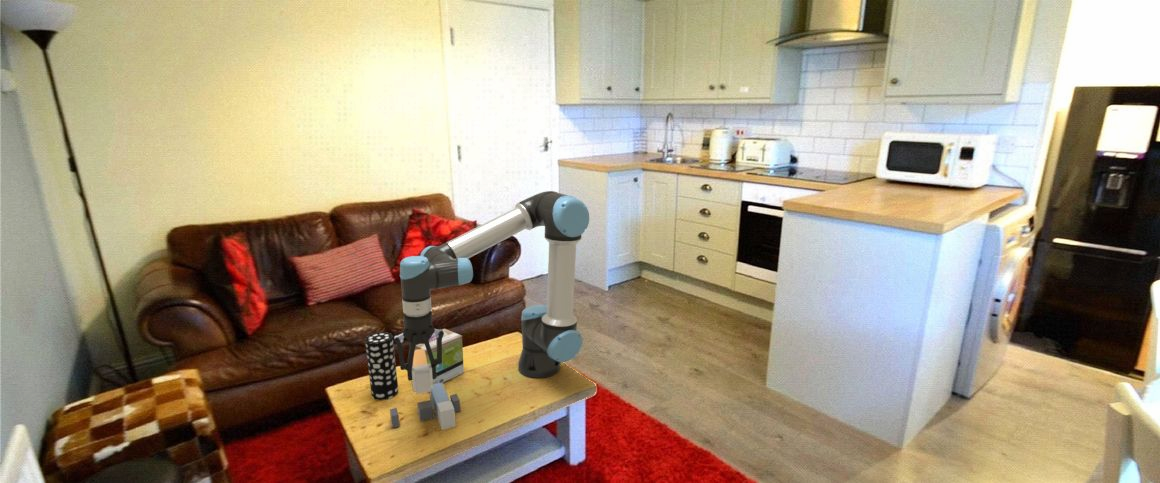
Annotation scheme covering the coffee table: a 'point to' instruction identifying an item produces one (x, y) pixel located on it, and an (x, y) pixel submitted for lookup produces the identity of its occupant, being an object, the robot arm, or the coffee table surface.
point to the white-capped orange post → (421, 372)
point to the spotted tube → (381, 365)
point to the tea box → (446, 356)
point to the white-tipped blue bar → (443, 406)
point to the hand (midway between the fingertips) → (422, 387)
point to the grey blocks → (424, 410)
